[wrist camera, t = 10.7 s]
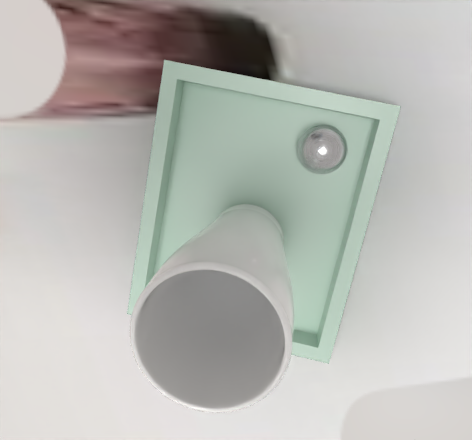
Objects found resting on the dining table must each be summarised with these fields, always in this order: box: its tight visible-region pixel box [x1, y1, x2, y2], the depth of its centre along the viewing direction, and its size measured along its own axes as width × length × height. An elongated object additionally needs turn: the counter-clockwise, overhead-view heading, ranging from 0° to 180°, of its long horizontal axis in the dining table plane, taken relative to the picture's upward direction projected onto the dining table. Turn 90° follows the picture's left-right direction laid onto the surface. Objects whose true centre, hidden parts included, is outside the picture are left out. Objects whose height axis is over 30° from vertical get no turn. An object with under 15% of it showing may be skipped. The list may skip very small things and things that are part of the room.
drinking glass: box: [130, 204, 295, 413], centre depth 25 cm, size 7×7×15 cm
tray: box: [127, 60, 401, 364], centre depth 31 cm, size 18×15×2 cm
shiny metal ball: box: [297, 124, 348, 174], centre depth 28 cm, size 3×3×3 cm
